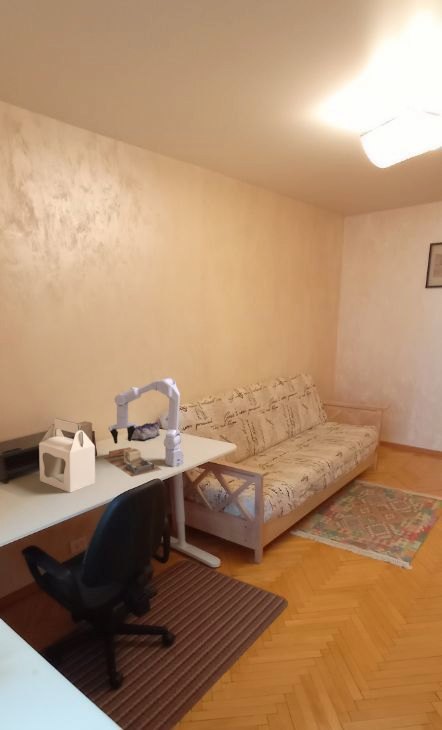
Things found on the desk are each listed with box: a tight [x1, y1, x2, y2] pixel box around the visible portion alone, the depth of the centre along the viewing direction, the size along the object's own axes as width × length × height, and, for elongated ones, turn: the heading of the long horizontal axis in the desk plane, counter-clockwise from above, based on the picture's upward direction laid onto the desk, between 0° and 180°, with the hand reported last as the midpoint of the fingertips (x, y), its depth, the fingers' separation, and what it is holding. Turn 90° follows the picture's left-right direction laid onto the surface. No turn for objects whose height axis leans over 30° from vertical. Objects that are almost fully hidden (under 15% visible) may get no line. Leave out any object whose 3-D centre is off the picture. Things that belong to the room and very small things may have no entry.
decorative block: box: [67, 421, 93, 443], centre depth 211 cm, size 11×6×20 cm, turn 147°
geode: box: [131, 422, 161, 441], centre depth 260 cm, size 20×12×10 cm, turn 147°
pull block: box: [108, 447, 142, 465], centre depth 214 cm, size 16×12×6 cm
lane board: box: [103, 454, 163, 478], centre depth 209 cm, size 32×16×4 cm, turn 39°
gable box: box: [38, 418, 96, 493], centre depth 185 cm, size 22×13×28 cm, turn 56°
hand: (122, 442), depth 217 cm, fingers open, 7 cm apart
